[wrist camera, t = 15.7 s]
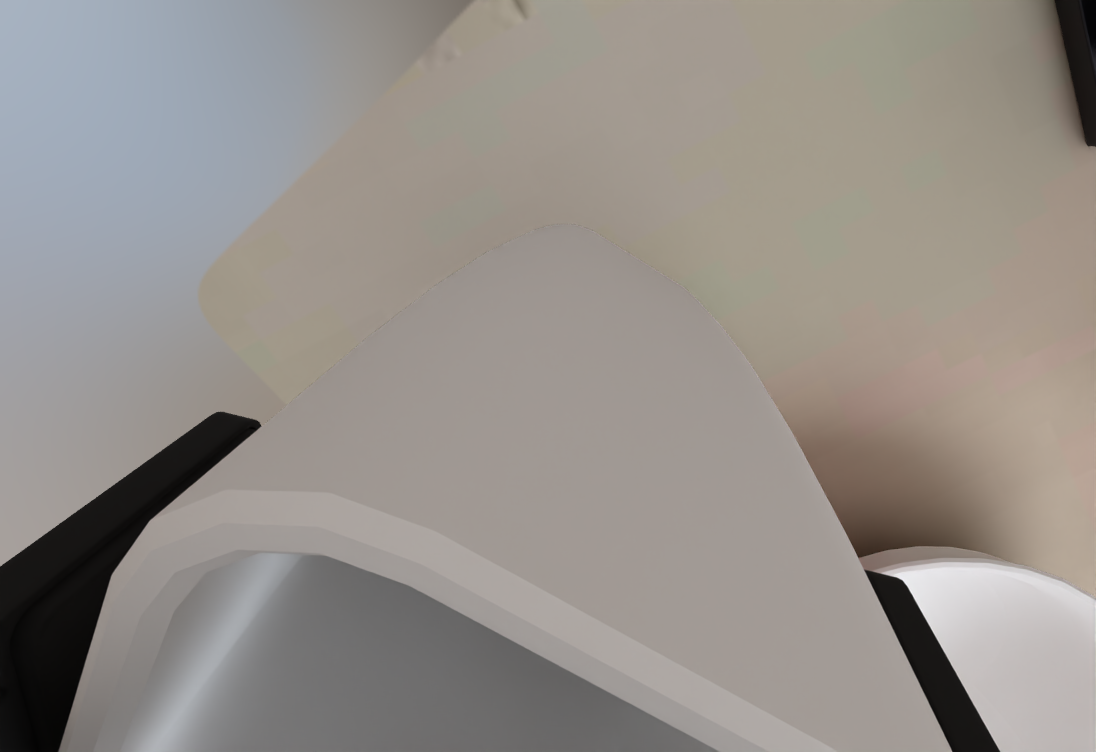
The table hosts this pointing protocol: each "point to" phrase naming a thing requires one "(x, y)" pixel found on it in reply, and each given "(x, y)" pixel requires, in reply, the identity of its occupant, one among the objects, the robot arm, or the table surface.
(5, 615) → the robot arm
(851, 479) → the table surface
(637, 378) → the cup
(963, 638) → the bowl
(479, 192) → the table surface
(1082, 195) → the table surface
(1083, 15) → the bracket
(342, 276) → the table surface
